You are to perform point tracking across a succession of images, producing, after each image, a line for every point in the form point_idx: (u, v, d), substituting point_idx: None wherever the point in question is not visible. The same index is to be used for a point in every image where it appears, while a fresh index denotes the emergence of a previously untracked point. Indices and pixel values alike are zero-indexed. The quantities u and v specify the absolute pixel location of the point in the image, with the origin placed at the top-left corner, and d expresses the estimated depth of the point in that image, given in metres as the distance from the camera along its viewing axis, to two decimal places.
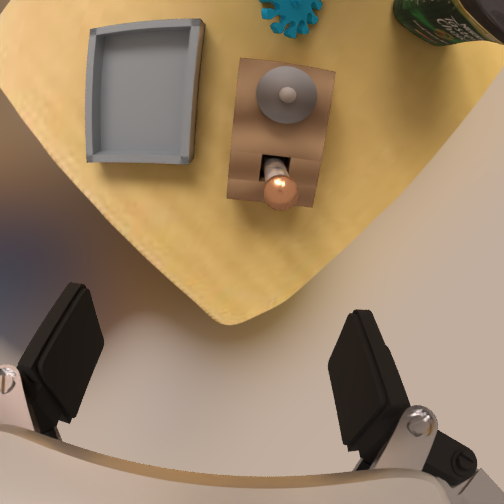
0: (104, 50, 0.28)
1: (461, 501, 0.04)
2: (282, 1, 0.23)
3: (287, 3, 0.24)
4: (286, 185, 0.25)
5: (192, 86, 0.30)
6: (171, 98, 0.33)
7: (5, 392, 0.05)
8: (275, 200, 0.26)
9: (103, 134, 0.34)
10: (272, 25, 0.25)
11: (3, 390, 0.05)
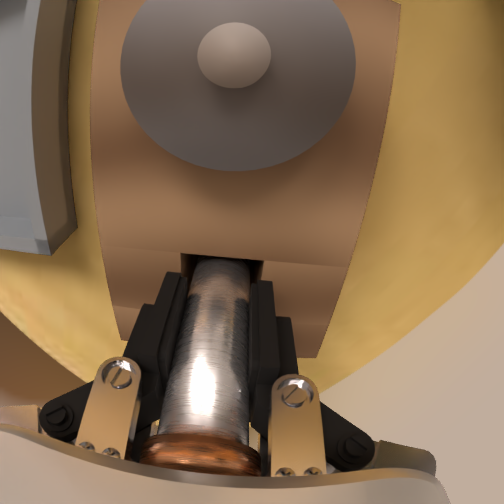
0: None
1: None
2: None
3: None
4: None
5: (30, 84, 0.09)
6: None
7: (114, 386, 0.06)
8: None
9: None
10: None
11: (114, 381, 0.07)
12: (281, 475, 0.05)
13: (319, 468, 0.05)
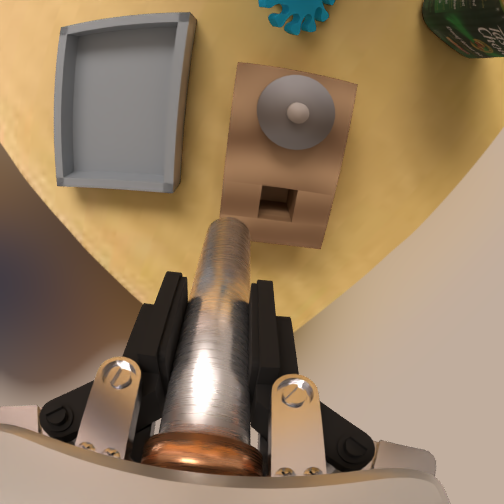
0: (77, 52, 0.23)
1: None
2: None
3: None
4: None
5: (178, 97, 0.24)
6: (154, 111, 0.27)
7: (114, 385, 0.06)
8: None
9: (76, 152, 0.29)
10: (270, 16, 0.19)
11: (114, 380, 0.07)
12: (281, 475, 0.05)
13: (319, 468, 0.05)
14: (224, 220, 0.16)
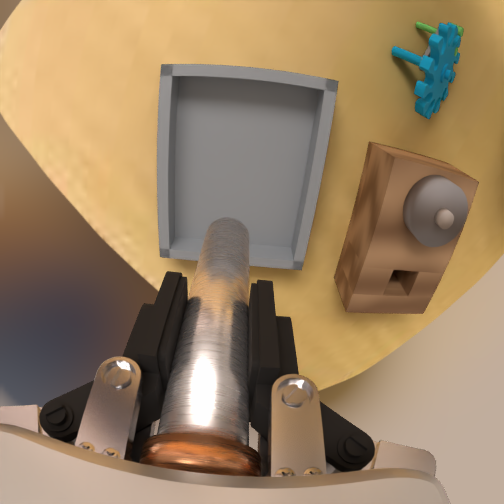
0: (179, 97, 0.23)
1: None
2: (436, 75, 0.18)
3: (438, 77, 0.18)
4: None
5: (320, 177, 0.25)
6: (281, 182, 0.28)
7: (114, 386, 0.06)
8: None
9: (178, 217, 0.30)
10: (418, 103, 0.20)
11: (113, 381, 0.07)
12: (281, 475, 0.05)
13: (319, 468, 0.05)
14: (223, 220, 0.16)
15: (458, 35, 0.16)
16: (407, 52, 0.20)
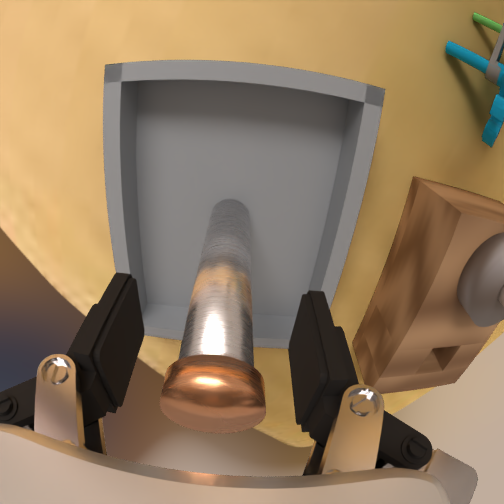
0: (139, 113, 0.15)
1: None
2: None
3: None
4: (224, 398, 0.07)
5: (350, 237, 0.17)
6: (290, 236, 0.19)
7: (55, 382, 0.06)
8: (197, 421, 0.08)
9: (149, 280, 0.21)
10: (489, 126, 0.12)
11: (53, 379, 0.06)
12: None
13: None
14: (227, 201, 0.18)
15: None
16: (467, 51, 0.12)
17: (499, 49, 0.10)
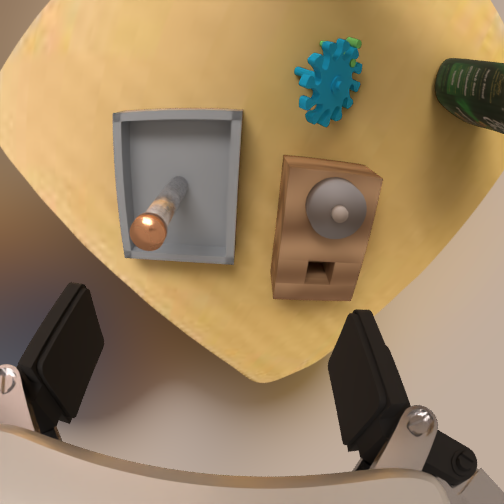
0: (130, 135, 0.31)
1: (461, 501, 0.04)
2: (323, 88, 0.25)
3: (327, 90, 0.26)
4: (149, 224, 0.23)
5: (236, 189, 0.32)
6: (211, 194, 0.35)
7: (5, 392, 0.05)
8: (142, 241, 0.23)
9: None
10: (307, 114, 0.27)
11: (3, 389, 0.05)
12: None
13: None
14: (175, 177, 0.33)
15: (354, 47, 0.24)
16: (306, 71, 0.27)
17: None
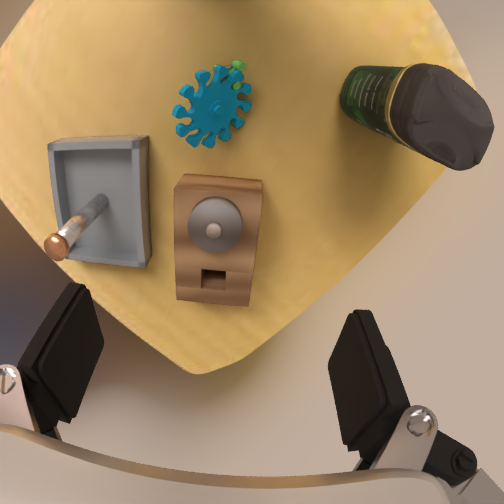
0: (64, 159, 0.35)
1: (461, 501, 0.04)
2: (198, 115, 0.29)
3: (205, 115, 0.30)
4: (54, 242, 0.27)
5: (140, 206, 0.36)
6: (126, 208, 0.39)
7: (5, 392, 0.05)
8: (52, 254, 0.28)
9: None
10: (187, 139, 0.31)
11: (3, 390, 0.05)
12: None
13: None
14: (97, 194, 0.37)
15: (237, 70, 0.28)
16: (196, 96, 0.31)
17: None
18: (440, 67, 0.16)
